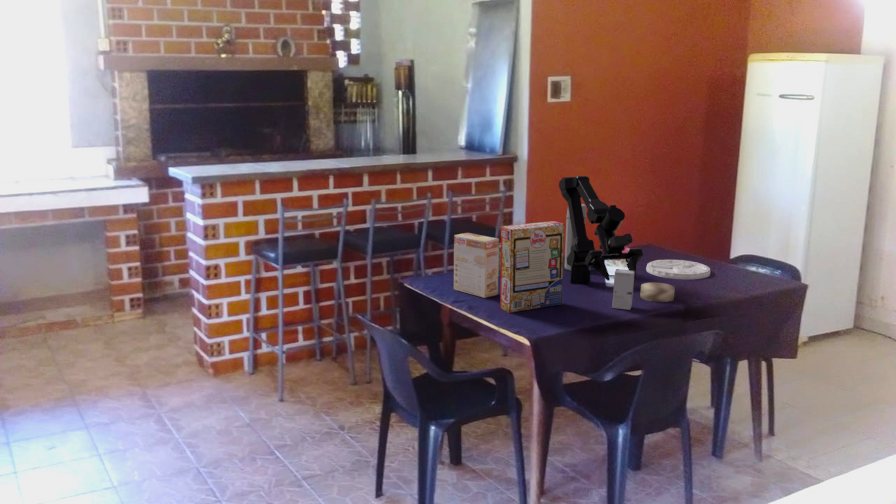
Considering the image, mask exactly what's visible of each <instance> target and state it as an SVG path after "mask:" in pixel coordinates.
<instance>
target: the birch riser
mask: <svg viewBox="0 0 896 504" xmlns="http://www.w3.org/2000/svg"><path fill="white" fill-rule="evenodd" d="M675 288H676V287H675V286H674V285H671V284H668V283H666V282H665V283H664V282H653V281H652V282H644V283H642V284H641V285H640V293H639V294H640V298H641V299H642V300H645V301H646V302H647V301H648V302H652V301H653V303H668V302H669V301H670V302H673V301H674V299H675Z"/></svg>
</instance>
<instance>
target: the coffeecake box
mask: <svg viewBox="0 0 896 504" xmlns="http://www.w3.org/2000/svg"><path fill="white" fill-rule="evenodd" d="M453 240H454V241H453V245H454V246H453V290H454V291H458V292H462V293H465V294H469V295H472V296H476V297H480V298H483V299H485V298H490V297H494V296H497V295H499V276H498V263H499V244H500V239H499V238H496V237H493V236H492V237H491V236H486V235H482V234H481V235H480V234H476V233H471V232H464V233H459V234H454V236H453Z"/></svg>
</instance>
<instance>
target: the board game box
mask: <svg viewBox="0 0 896 504" xmlns="http://www.w3.org/2000/svg"><path fill="white" fill-rule="evenodd" d="M564 241H565V223H563V222H559V221H556V220H550V221H542V222H532V223H524V224H516V225H515V224H514V225H506V226H505V225H504V226H500V244H501V276H500V287H499V288H500V289H499V291H500V294H499V296H500V297H499V299H500V302H499V309H501V310H503V311H505V312H506V313H508V314H511V313H515V312H516V313H517V312H521V311H528V310H533V309H540V308H541V309H542V308H546V307H552V306H559V305H560V306H561V305H563V300H564V299H563V289H564V287H563V286H564V283H563V281H564V280H563V279H564V254H565V246H564V244H565V243H564Z"/></svg>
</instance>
